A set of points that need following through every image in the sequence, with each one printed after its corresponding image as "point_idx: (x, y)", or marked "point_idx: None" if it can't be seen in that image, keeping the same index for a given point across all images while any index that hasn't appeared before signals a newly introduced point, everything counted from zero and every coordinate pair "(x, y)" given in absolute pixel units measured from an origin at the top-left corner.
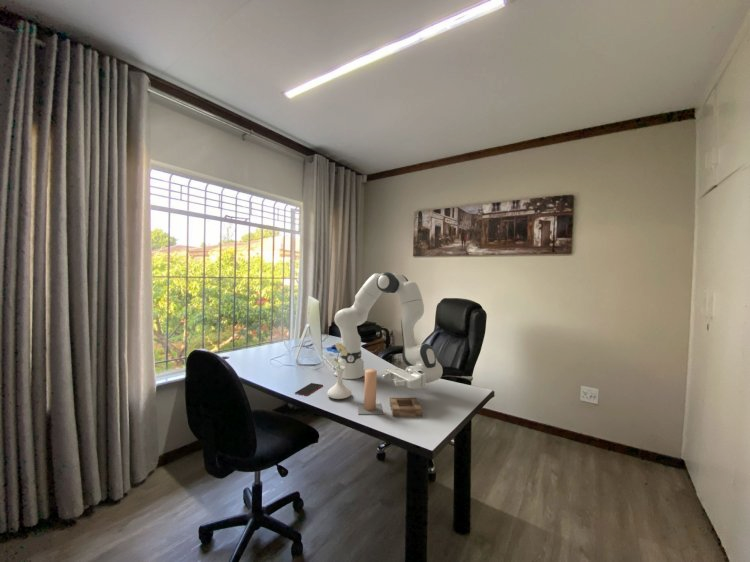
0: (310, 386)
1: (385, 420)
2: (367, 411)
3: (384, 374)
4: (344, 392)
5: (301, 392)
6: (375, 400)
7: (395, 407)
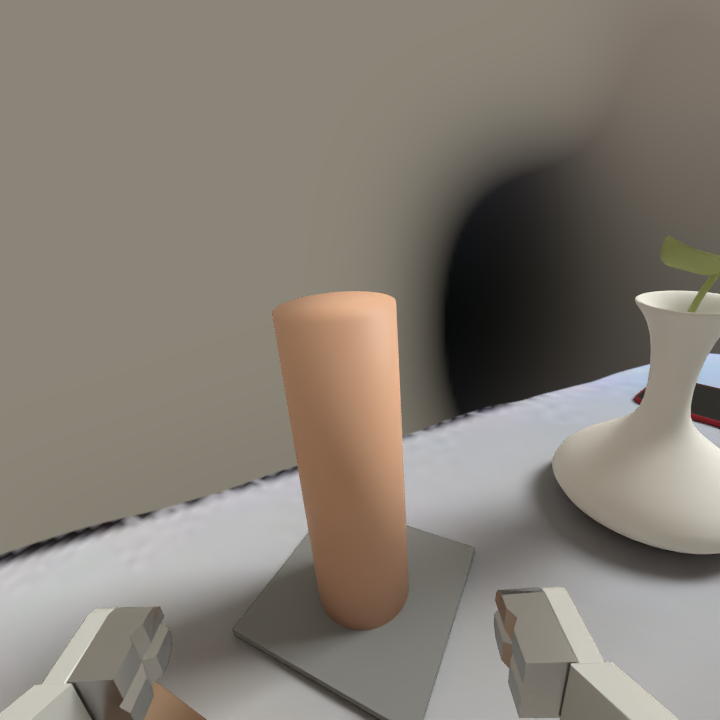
0: None
1: (160, 606)
2: None
3: (576, 631)
4: (583, 467)
5: None
6: (315, 556)
7: None
